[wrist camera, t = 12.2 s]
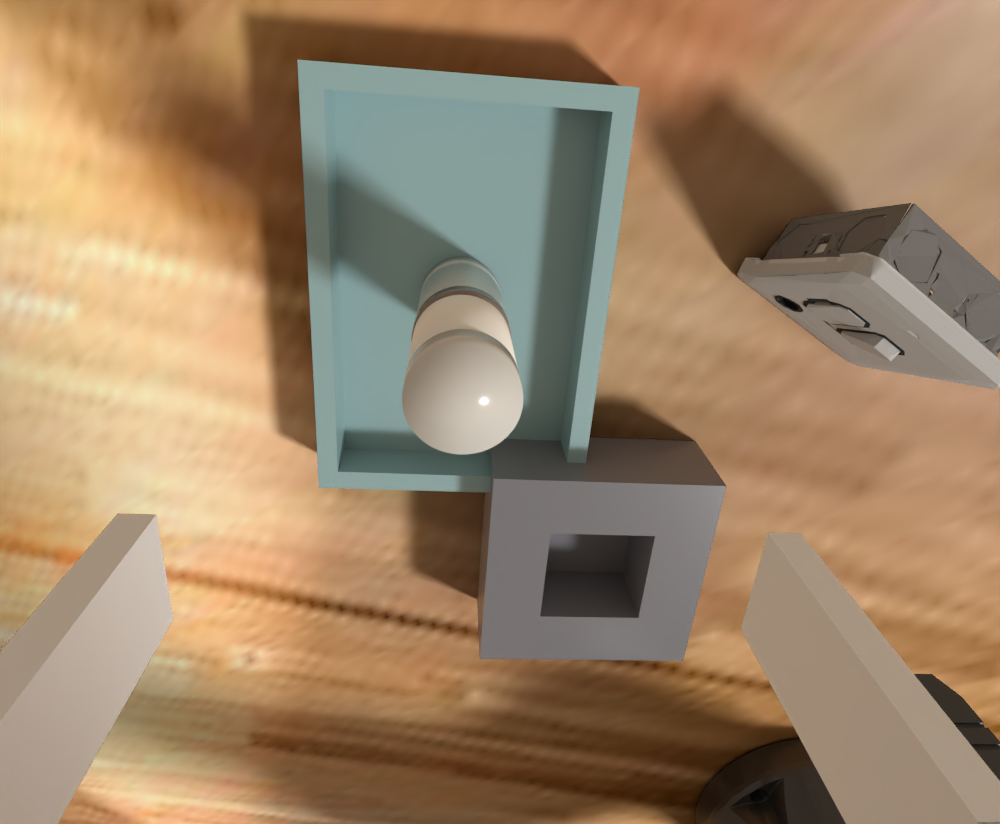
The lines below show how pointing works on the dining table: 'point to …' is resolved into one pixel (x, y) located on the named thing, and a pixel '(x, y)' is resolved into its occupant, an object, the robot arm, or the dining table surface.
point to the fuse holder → (595, 549)
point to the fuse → (461, 361)
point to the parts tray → (454, 248)
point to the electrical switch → (886, 293)
